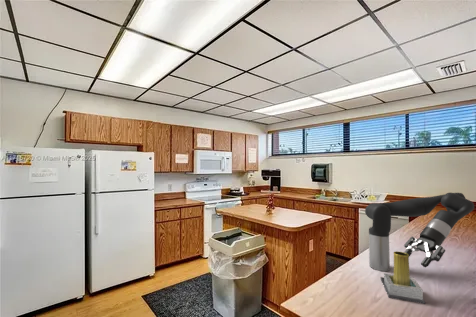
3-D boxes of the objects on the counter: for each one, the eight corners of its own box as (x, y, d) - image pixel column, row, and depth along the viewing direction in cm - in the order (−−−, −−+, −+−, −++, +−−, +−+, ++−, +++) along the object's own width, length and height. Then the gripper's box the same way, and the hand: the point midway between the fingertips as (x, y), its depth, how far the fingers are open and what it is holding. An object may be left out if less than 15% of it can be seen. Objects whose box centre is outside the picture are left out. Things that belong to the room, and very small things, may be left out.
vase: (403, 284, 102) (402, 250, 102) (414, 291, 96) (413, 256, 96) (389, 284, 102) (389, 251, 102) (400, 292, 96) (399, 256, 96)
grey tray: (380, 279, 111) (380, 268, 111) (411, 284, 106) (410, 272, 107) (388, 297, 95) (388, 284, 95) (425, 303, 91) (424, 290, 91)
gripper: (459, 243, 94) (435, 275, 92) (425, 233, 108) (404, 261, 106) (447, 230, 93) (423, 262, 91) (414, 222, 107) (393, 249, 105)
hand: (413, 261), depth 98 cm, fingers open, 8 cm apart
